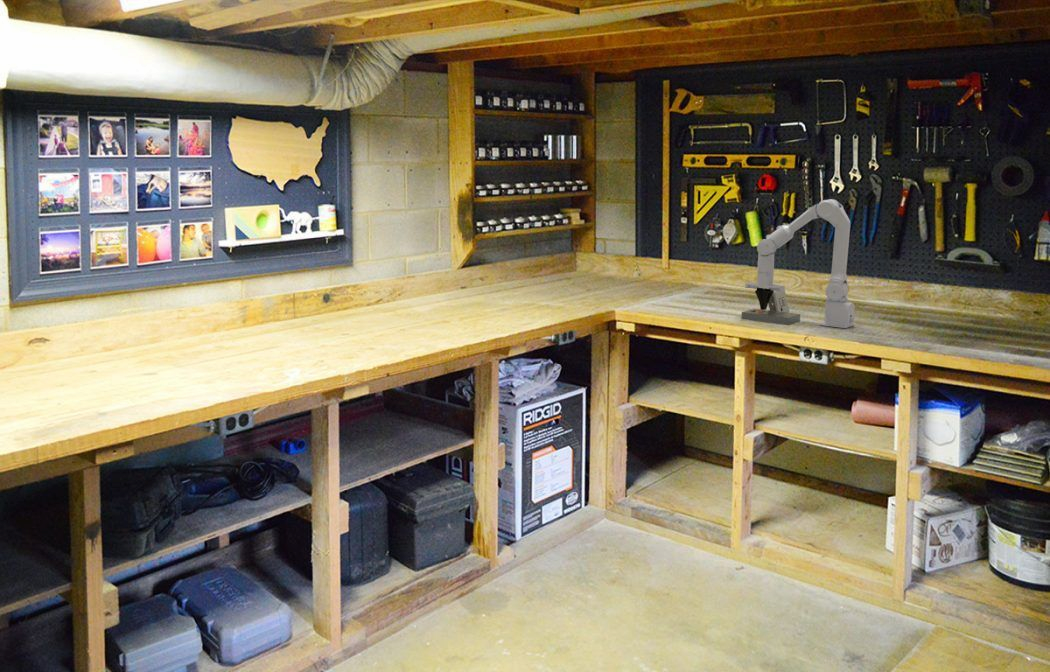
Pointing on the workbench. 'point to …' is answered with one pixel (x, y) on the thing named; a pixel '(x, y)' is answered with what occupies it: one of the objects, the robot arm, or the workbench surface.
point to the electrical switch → (778, 302)
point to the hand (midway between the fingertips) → (763, 309)
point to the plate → (771, 316)
